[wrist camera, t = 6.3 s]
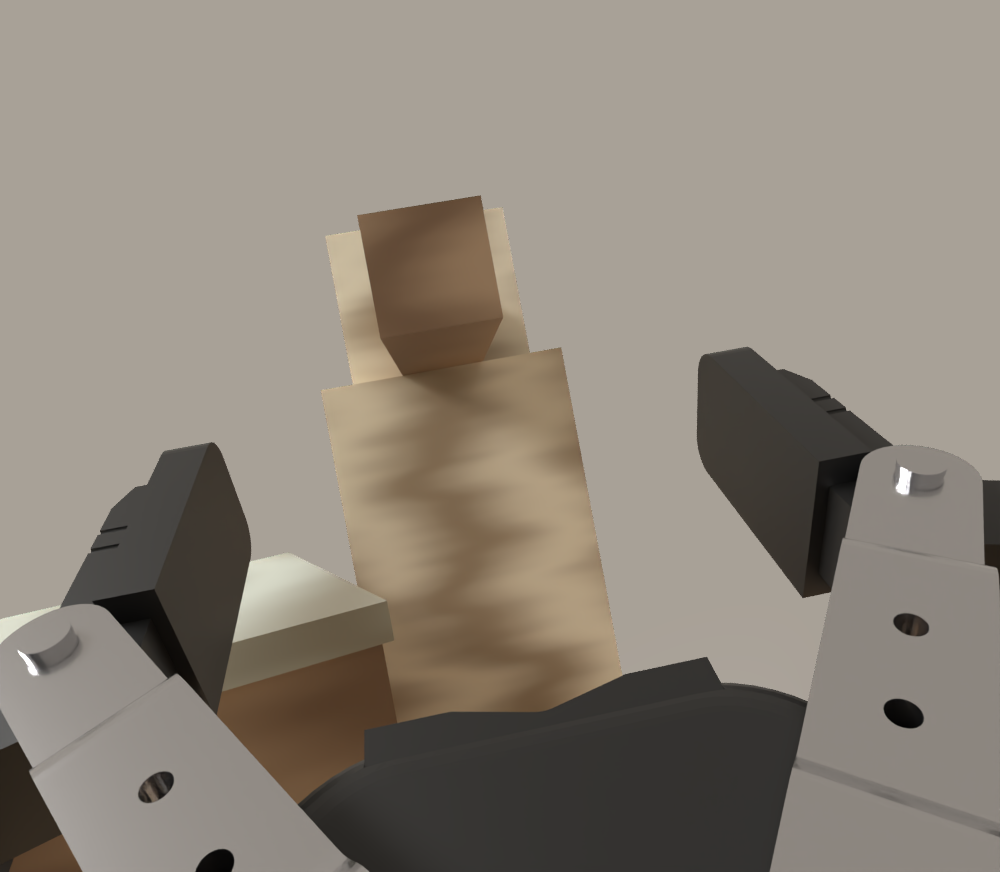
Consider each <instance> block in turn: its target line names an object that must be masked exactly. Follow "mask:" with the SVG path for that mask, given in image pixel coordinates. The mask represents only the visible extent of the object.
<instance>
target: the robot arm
mask: <svg viewBox="0 0 1000 872" xmlns="http://www.w3.org/2000/svg"><path fill="white" fill-rule="evenodd" d="M697 408H698V409H697V442H698V449H699V454H700V457H701V460H702V463H703V465H704V467H705V469H706V471H707V472H708V474H709V475H710V476H711V478H712V479H713V480H714V482H715V483H716V484H717V486H718V487H719V488H720V490H721V491H722V492H723V494H724V495H725V496H726V497H727V499H728V500H729V501H730V503H731V504H732V505H733V507H734V508H735V509H736V511H737V512H738V513H739V515H740V516H741V517H742V519H743V520H744V521H745V523H746V524H747V525H748V526H749V528H750V529H751V530H752V532H753V533H754V534H755V536H756V537H757V538H758V540H759V541H760V542H761V544H762V545H763V546H764V548H765V549H766V550H767V551H768V553H769V554H770V555H771V556H772V558H773V559H774V561H775V562H776V563H777V564H778V566H779V567H780V569H782V571H783V573H784V574H785V575H786V577H787V578H788V579H789V580H790V582H791V583H792V584H793V586H794V587H795V588H796V590H797V591H798V592H799V594H800V595H801V596H802V598H805V597H810V596H815V595H820V594H824V593H829V592H831V595H830V600H829V605H828V609H827V614H826V619H825V623H824V628H823V633H822V638H821V642H820V647H819V652H818V657H817V661H816V666H815V671H814V675H813V680H812V685H811V689H810V694H809V699H808V701H805V700H803V699H800V698H798V697H795V696H792V695H789V694H786V693H783V692H779V691H776V690H773V689H767V688H763V687H758V686H753V685H745V684H736V683H721V682H720V680H719V678H718V677H717V675H716V673H715V671H714V670H713V667H712V665H711V664H710V662H709V660H708V658H707V657H704V658H699V659H695V660H690V661H686V662H681V663H676V664H671V665H667V666H662V667H658V668H653V669H648V670H643V671H638V672H634V673H629V674H625V675H623V676H620V677H618V678H616V679H614V680H612V681H610V682H608V683H605V684H603V685H601V686H599V687H597V688H595V689H592V690H590V691H588V692H586V693H584V694H582V695H580V696H577V697H575V698H573V699H571V700H569V701H567V702H565V703H562V704H560V705H558V706H556V707H554V708H551V709H549V710H546V711H541V712H447V713H442V714H437V715H433V716H428V717H423V718H419V719H414V720H409V721H404V722H400V723H395V724H390V725H386V726H381V727H376V728H372V729H367V730H364V760H362V761H360V762H358V763H356V764H354V765H352V766H350V767H348V768H347V769H345V770H343V771H341V772H340V773H338V774H336V775H335V776H333V777H331V778H330V779H329V780H327V781H326V782H325V783H323V784H322V785H320V786H319V787H318V788H316V789H315V790H314V791H312V792H311V793H310V794H309V795H308V796H307V797H305V798H304V799H303V800H302V801H301V802H300V803H299V804H298V805H297V804H296V802H295V801H294V800H293V799H292V798H291V797H290V796H289V795H288V794H287V792H286V791H285V790H284V789H283V788H282V787H281V786H280V785H279V784H278V783H277V781H276V780H275V779H274V778H273V777H272V776H271V775H270V774H269V773H268V772H267V770H266V769H265V768H264V767H263V766H262V765H261V764H260V763H259V762H258V761H257V759H256V758H255V757H254V756H253V755H252V754H251V753H250V752H249V751H248V750H247V748H246V747H245V746H244V745H243V744H242V743H241V742H240V741H239V740H238V739H237V737H236V736H235V735H234V734H233V733H232V732H231V731H230V730H229V729H228V727H227V726H226V725H225V724H224V723H223V722H222V721H221V720H220V719H219V718H218V716H217V712H218V707H219V703H220V698H221V693H222V689H223V684H224V679H225V675H226V670H227V665H228V661H229V656H230V651H231V647H232V642H233V638H234V633H235V628H236V624H237V619H238V614H239V610H240V605H241V600H242V596H243V591H244V586H245V582H246V577H247V573H248V568H249V563H250V558H251V540H250V533H249V528H248V524H247V521H246V518H245V515H244V513H243V510H242V507H241V504H240V502H239V499H238V497H237V494H236V491H235V488H234V485H233V483H232V480H231V477H230V475H229V472H228V469H227V466H226V464H225V461H224V458H223V456H222V453H221V451H220V450H219V448H218V447H217V445H216V444H215V443H212V442H211V443H206V444H201V445H195V446H189V447H184V448H178V449H173V450H167V451H164V452H163V453H162V455H161V457H160V459H159V461H158V463H157V465H156V467H155V470H154V472H153V474H152V476H151V478H150V480H149V482H148V484H147V485H144V486H139V487H135V488H134V489H133V490H132V491H130V492H129V493H128V494H127V495H126V496H125V497H124V498H123V499H122V500H121V501H120V502H118V503H117V504H116V505H115V506H114V507H113V508H112V509H111V511H110V513H109V515H108V517H107V519H106V521H105V522H104V524H103V526H102V528H101V530H100V532H101V535H98V536H97V538H96V540H95V542H94V543H93V545H92V547H91V553H90V554H88V555H87V557H86V559H85V561H84V562H83V564H82V566H81V568H80V570H79V572H78V574H77V576H76V578H75V580H74V582H73V583H72V585H71V587H70V589H69V591H68V593H67V595H66V597H65V599H64V601H63V603H62V605H61V606H60V608H59V609H56V610H53V611H50V612H48V613H45V614H43V615H41V616H39V617H37V618H35V619H33V620H31V621H30V622H28V623H26V624H25V625H23V626H21V627H20V628H19V629H17V630H16V631H14V632H13V633H12V634H11V635H9V636H8V637H7V638H6V639H5V640H4V641H3V642H2V643H1V644H0V872H9V870H10V867H11V865H12V862H13V859H14V858H15V857H17V856H19V855H21V854H23V853H25V852H27V851H29V850H31V849H33V848H35V847H37V846H39V845H41V844H43V843H45V842H47V841H49V840H51V839H53V838H55V837H57V836H59V835H61V834H63V836H64V838H65V840H66V842H67V844H68V846H69V847H70V849H71V851H72V853H73V855H74V857H75V858H76V860H77V862H78V864H79V866H80V868H81V870H82V871H83V872H1000V481H988V480H982V478H981V476H980V474H979V473H978V471H977V470H976V469H975V468H974V467H973V466H972V465H970V464H969V463H968V462H966V461H964V460H963V459H961V458H959V457H957V456H955V455H953V454H950V453H948V452H945V451H941V450H938V449H934V448H929V447H923V446H914V445H896V446H893V445H892V444H891V443H889V442H888V441H887V440H886V439H884V438H883V437H882V436H881V435H879V434H878V433H877V432H876V431H874V430H873V429H872V428H870V426H868V425H867V424H866V423H865V422H863V421H862V420H861V419H859V418H858V417H857V416H856V415H854V414H853V413H852V412H851V411H846V408H845V406H843V405H842V404H841V403H840V402H838V401H837V400H836V399H835V398H832V399H831V397H830V394H828V393H827V392H826V391H825V390H823V389H822V388H821V387H820V386H818V385H817V384H816V383H814V382H813V381H812V380H810V379H808V378H805V377H802V376H800V375H797V374H795V373H792V372H789V371H787V370H784V369H782V370H776V369H775V368H774V367H773V366H771V365H770V364H769V363H768V362H767V361H765V360H764V359H763V358H762V357H761V356H759V355H758V354H757V353H756V352H754V350H752V349H751V348H749V347H743V348H738V349H732V350H727V351H722V352H716V353H710V354H705V355H703V356H702V357H701V359H700V362H699V368H698V407H697Z"/></svg>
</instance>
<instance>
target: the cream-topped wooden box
mask: <svg viewBox="0 0 1000 872" xmlns="http://www.w3.org/2000/svg"><path fill="white" fill-rule="evenodd" d="M60 606H61V605H60ZM60 606H55V607H51V608H47V609H43V610H38V611H34V612H29V613H25V614H21V615H16V616H12V617H8V618H4V619H0V644H1V643H2V642H3V641H4V640H5V639H6V638H7V637H8V636H9V635H11V634H12V633H13V632H14V631H16V630H17V629H19V628H20V627H21V626H23V625H25V624H26V623H28V622H30V621H31V620H33V619H35V618H37V617H39V616H41V615H43V614H45V613H48V612H50V611H53V610H56V609H59V608H60ZM391 641H394V636H393V630H392V625H391V620H390V614H389V609H388V604H387V601H386V600H384V599H382V598H380V597H378V596H376V595H374V594H372V593H370V592H368V591H366V590H364V589H362V588H360V587H358V586H356V585H354V584H352V583H350V582H348V581H346V580H344V579H342V578H340V577H337V576H336V575H334V574H331V573H330V572H328V571H326V570H324V569H321V568H319V567H317V566H315V565H313V564H311V563H309V562H307V561H305V560H303V559H301V558H299V557H297V556H295V555H293V554H291V553H285V554H281V555H276V556H272V557H268V558H263V559H259V560H255V561H250V563H249V568H248V573H247V577H246V582H245V586H244V591H243V596H242V600H241V605H240V610H239V614H238V619H237V624H236V628H235V633H234V638H233V642H232V647H231V651H230V656H229V661H228V665H227V670H226V675H225V679H224V684H223V689H222V693H221V698H220V703H219V707H218V712H217V716H218V718H219V719H220V720H221V721H222V722H223V723H224V724H225V725H226V726H227V727H228V729H229V730H230V731H231V732H232V733H233V734H234V735H235V736H236V737H237V739H238V740H239V741H240V742H241V743H242V744H243V745H244V746H245V747H246V748H247V750H248V751H249V752H250V753H251V754H252V755H253V756H254V757H255V758H256V759H257V761H258V762H259V763H260V764H261V765H262V766H263V767H264V768H265V769H266V770H267V772H268V773H269V774H270V775H271V776H272V777H273V778H274V779H275V780H276V781H277V783H278V784H279V785H280V786H281V787H282V788H283V789H284V790H285V791H286V792H287V794H288V795H289V796H290V797H291V798H292V799H293V800H294V801H295V802H296V804H297V805H298V804H299V803H300V802H301V801H302V800H303V799H304V798H305V797H307V796H308V795H309V794H310V793H311V792H312V791H314V790H315V789H316V788H318V787H319V786H320V785H322V784H323V783H325V782H326V781H327V780H329V779H330V778H331V777H333V776H335V775H336V774H338V773H340V772H341V771H343V770H345V769H347V768H348V767H350V766H352V765H354V764H356V763H358V762H360V761H362V760H364V730H367V729H372V728H376V727H381V726H386V725H390V724H395V723H397V718H396V713H395V708H394V702H393V697H392V692H391V686H390V681H389V676H388V670H387V665H386V660H385V654H384V649H383V644H384V643H387V642H391ZM9 872H83V871H82V870H81V868H80V866H79V864H78V862H77V860H76V858H75V857H74V855H73V853H72V851H71V849H70V847H69V846H68V844H67V842H66V840H65V838H64V836H63V834H61V835H59V836H57V837H55V838H53V839H51V840H49V841H47V842H45V843H43V844H41V845H39V846H37V847H35V848H33V849H31V850H29V851H27V852H25V853H23V854H21V855H19V856H17V857H15V858H14V859H13V862H12V865H11V867H10V870H9Z"/></svg>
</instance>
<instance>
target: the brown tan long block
mask: <svg viewBox="0 0 1000 872" xmlns="http://www.w3.org/2000/svg"><path fill="white" fill-rule="evenodd" d="M358 222H359V227H360V230H358V231H352V232H347V233H340V234H335V235H328V236H325V238H326V243H327V248H328V254H329V259H330V264H331V270H332V275H333V281H334V286H335V291H336V296H337V302H338V307H339V312H340V318H341V323H342V328H343V334H344V339H345V344H346V350H347V355H348V361H349V366H350V371H351V376H352V382H353V384H359V383H365V382H370V381H376V380H381V379H387V378H393V377H398V376H404V375H409V374H415V373H421V372H426V371H432V370H437V369H443V368H449V367H454V366H460V365H465V364H471V363H477V362H482V361H488V360H493V359H499V358H504V357H510V356H516V355H521V354H527V353H530V351H529V346H528V340H527V335H526V330H525V324H524V319H523V314H522V308H521V303H520V298H519V292H518V287H517V281H516V277H515V271H514V265H513V260H512V255H511V250H510V244H509V239H508V233H507V228H506V223H505V217H504V212H503V208H502V207H500V208H494V209H488V210H483V206H482V201H481V196H475V197H468V198H462V199H455V200H449V201H444V202H437V203H431V204H425V205H418V206H412V207H406V208H400V209H393V210H387V211H381V212H376V213H369V214H363V215H358Z"/></svg>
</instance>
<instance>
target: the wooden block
mask: <svg viewBox="0 0 1000 872" xmlns="http://www.w3.org/2000/svg"><path fill="white" fill-rule="evenodd" d="M321 394H322V399H323V404H324V410H325V415H326V421H327V426H328V431H329V437H330V442H331V447H332V453H333V458H334V463H335V469H336V473H337V479H338V485H339V490H340V495H341V501H342V506H343V511H344V517H345V522H346V527H347V533H348V538H349V543H350V549H351V554H352V559H353V565H354V570H355V575H356V581H357V586H358V587H360V588H362V589H364V590H366V591H368V592H370V593H372V594H374V595H376V596H378V597H380V598H382V599H384V600H386V601H387V604H388V609H389V614H390V620H391V625H392V630H393V636H394V641H391V642H387V643H384V644H383V649H384V654H385V660H386V665H387V670H388V676H389V681H390V686H391V692H392V697H393V702H394V708H395V713H396V718H397V723H400V722H404V721H409V720H414V719H419V718H423V717H428V716H433V715H437V714H442V713H447V712H541V711H546V710H549V709H551V708H554V707H556V706H558V705H560V704H562V703H565V702H567V701H569V700H571V699H573V698H575V697H577V696H580V695H582V694H584V693H586V692H588V691H590V690H592V689H595V688H597V687H599V686H601V685H603V684H605V683H608V682H610V681H612V680H614V679H616V678H618V677H620V676H622V671H621V666H620V660H619V655H618V650H617V644H616V639H615V634H614V628H613V623H612V617H611V612H610V607H609V602H608V596H607V591H606V585H605V580H604V575H603V569H602V564H601V559H600V553H599V548H598V542H597V537H596V532H595V527H594V521H593V516H592V510H591V506H590V500H589V494H588V489H587V484H586V479H585V473H584V468H583V463H582V457H581V451H580V446H579V441H578V435H577V430H576V425H575V420H574V414H573V409H572V403H571V398H570V392H569V387H568V382H567V377H566V371H565V366H564V360H563V355H562V350H561V348H555V349H549V350H544V351H538V352H533V353H527V354H521V355H516V356H510V357H504V358H499V359H493V360H488V361H482V362H477V363H471V364H465V365H460V366H454V367H449V368H443V369H437V370H432V371H426V372H421V373H415V374H409V375H404V376H398V377H393V378H387V379H381V380H376V381H370V382H365V383H359V384H353V385H348V386H342V387H337V388H331V389H326V390H321Z"/></svg>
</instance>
